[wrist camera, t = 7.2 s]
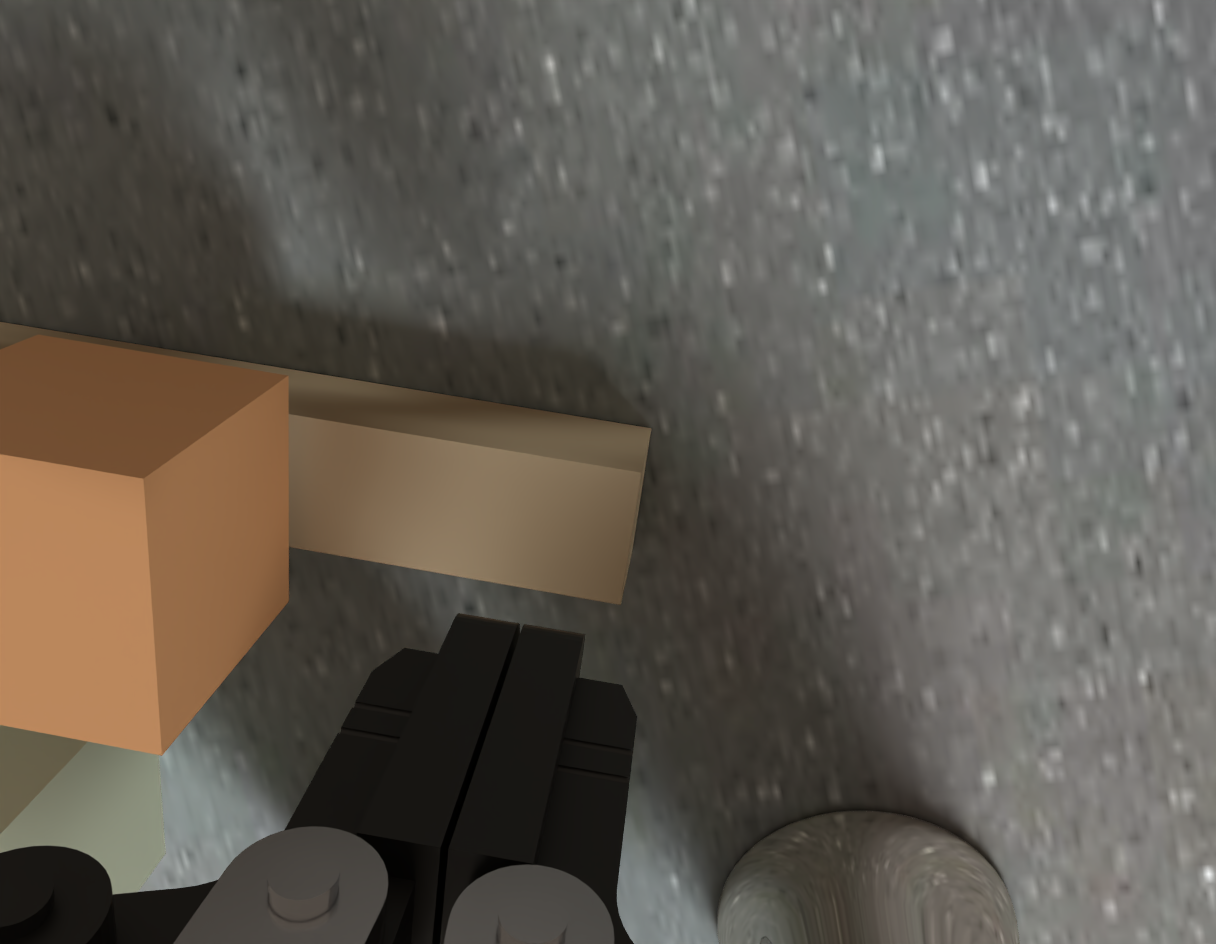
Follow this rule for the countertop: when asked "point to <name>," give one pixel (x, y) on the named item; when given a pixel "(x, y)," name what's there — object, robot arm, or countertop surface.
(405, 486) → the rail
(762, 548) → the countertop surface
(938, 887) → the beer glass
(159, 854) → the sage block
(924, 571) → the countertop surface
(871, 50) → the countertop surface
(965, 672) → the countertop surface
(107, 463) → the block
